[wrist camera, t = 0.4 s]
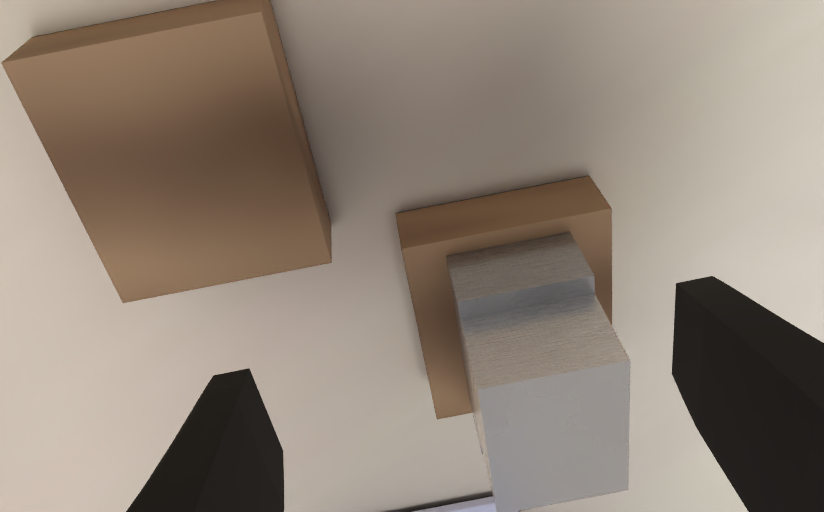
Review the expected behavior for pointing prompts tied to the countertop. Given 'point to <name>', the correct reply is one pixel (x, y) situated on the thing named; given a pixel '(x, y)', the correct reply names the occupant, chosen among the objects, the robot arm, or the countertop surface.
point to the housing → (542, 372)
